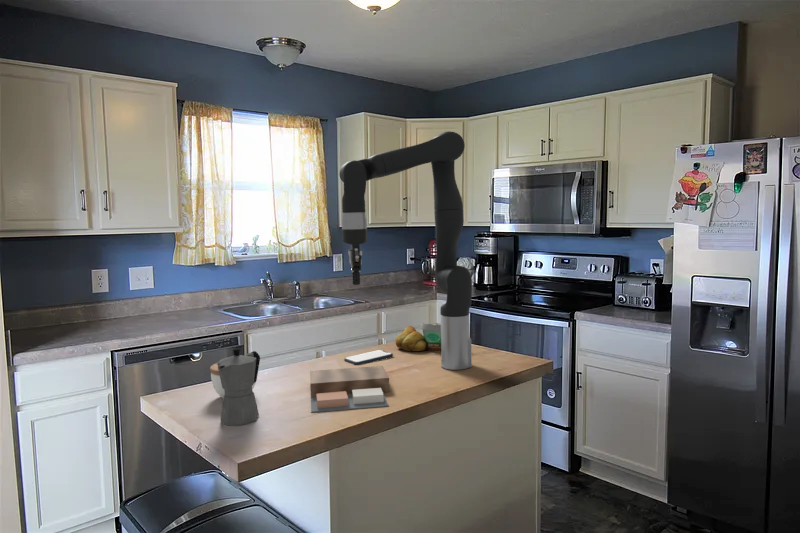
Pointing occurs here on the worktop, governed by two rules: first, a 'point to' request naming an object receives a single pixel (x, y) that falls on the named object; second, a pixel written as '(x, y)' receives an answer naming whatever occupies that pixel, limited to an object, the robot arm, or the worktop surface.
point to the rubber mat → (350, 406)
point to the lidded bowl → (218, 380)
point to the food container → (432, 336)
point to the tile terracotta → (332, 399)
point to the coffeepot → (239, 388)
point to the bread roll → (410, 340)
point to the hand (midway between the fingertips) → (356, 284)
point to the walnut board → (348, 380)
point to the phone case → (368, 357)
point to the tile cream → (367, 395)
